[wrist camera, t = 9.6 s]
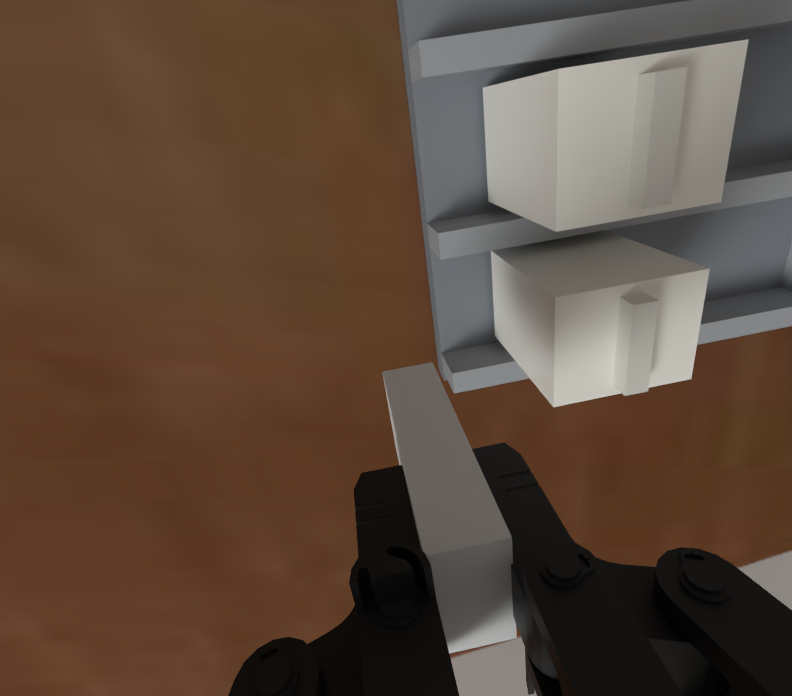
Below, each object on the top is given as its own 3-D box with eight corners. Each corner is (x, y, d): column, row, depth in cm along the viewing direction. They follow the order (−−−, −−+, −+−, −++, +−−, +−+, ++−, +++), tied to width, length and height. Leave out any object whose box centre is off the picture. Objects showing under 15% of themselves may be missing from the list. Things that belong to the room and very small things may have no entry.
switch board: (374, -191, 14) (390, -287, 11) (904, -251, 15) (1062, -355, 12) (438, 368, 23) (458, 409, 20) (771, 303, 24) (841, 331, 21)
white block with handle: (490, 250, 19) (565, 306, 13) (604, 229, 20) (727, 275, 14) (495, 336, 21) (563, 418, 15) (598, 315, 21) (706, 388, 15)
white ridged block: (482, 87, 17) (572, 65, 11) (614, 67, 17) (772, 34, 11) (488, 201, 18) (567, 237, 12) (607, 180, 19) (740, 205, 13)
